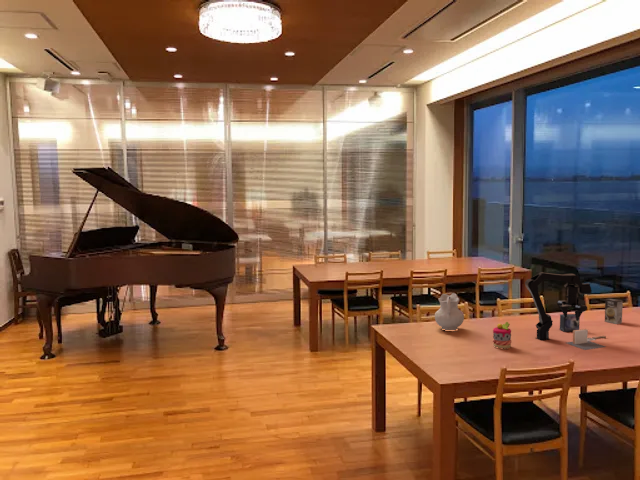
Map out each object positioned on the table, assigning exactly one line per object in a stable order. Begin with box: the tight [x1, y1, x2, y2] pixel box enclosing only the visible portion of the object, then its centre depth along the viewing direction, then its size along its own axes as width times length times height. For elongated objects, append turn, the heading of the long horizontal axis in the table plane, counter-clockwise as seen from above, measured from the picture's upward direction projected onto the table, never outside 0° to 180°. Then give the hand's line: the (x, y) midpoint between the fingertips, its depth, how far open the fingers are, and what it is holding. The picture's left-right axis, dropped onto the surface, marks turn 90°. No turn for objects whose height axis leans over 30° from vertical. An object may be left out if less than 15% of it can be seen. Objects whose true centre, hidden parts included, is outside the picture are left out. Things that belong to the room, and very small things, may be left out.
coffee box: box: [604, 298, 624, 325], centre depth 368 cm, size 9×6×16 cm
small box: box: [559, 313, 580, 333], centre depth 351 cm, size 11×6×10 cm, turn 92°
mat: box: [565, 340, 607, 351], centre depth 318 cm, size 16×16×1 cm
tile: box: [572, 328, 589, 344], centre depth 321 cm, size 9×2×8 cm, turn 107°
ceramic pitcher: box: [434, 292, 465, 330], centre depth 360 cm, size 22×20×25 cm
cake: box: [492, 321, 512, 350], centre depth 320 cm, size 10×10×15 cm
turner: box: [587, 335, 607, 342], centre depth 330 cm, size 15×5×1 cm, turn 108°
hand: (571, 319), depth 330 cm, fingers open, 9 cm apart
